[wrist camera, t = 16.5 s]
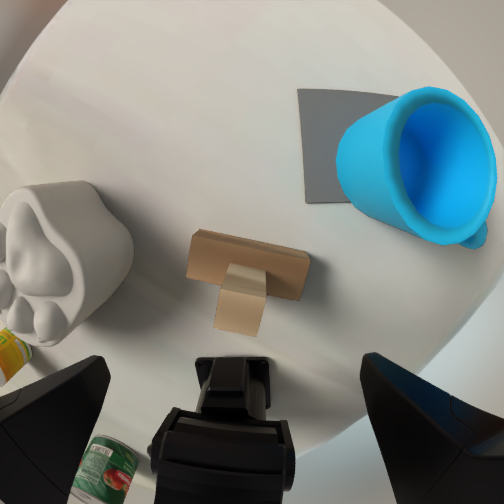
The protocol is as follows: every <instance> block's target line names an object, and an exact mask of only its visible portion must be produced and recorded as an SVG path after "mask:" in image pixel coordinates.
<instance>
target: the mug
mask: <svg viewBox="0 0 504 504" xmlns="http://www.w3.org/2000/svg"><path fill="white" fill-rule="evenodd" d="M336 166H337V176H338V179H339V182H340V184H341V187H342V189H343V192H344V194H345V195H346V196H347V198H348V199H349V200H350V201H351V203H352V204H353V205H354V207H356V208H357V209H359V210H360V211H361V212H363V213H364V214H366V215H367V216H369V217H372V218H374V219H377V220H379V221H382V222H384V223H387V224H389V225H392V226H394V227H396V228H399V229H401V230H404V231H406V232H408V233H411V234H413V235H415V236H417V237H420V238H422V239H424V240H427V241H430V242H434V243H437V244H440V245H449V244H456V243H458V244H460V245H462V246H464V247H466V248H470V249H477V248H479V247H481V246H483V244H484V243H485V240H486V236H487V232H488V231H487V225H486V219H487V216H488V214H489V212H490V209H491V207H492V204H493V202H494V197H495V191H496V184H497V168H496V157H495V153H494V150H493V146H492V143H491V139H490V136H489V134H488V132H487V130H486V128H485V127H484V125H483V123H482V121H481V119H480V118H479V116H478V115H477V114H476V113H475V112H474V110H473V109H472V108H471V107H470V106H469V105H468V104H467V103H466V102H465V101H464V100H463V99H461V98H460V97H458V96H456V95H455V94H453V93H451V92H450V91H448V90H445V89H440V88H435V87H424V88H420V89H416V90H412V91H410V92H408V93H406V94H404V95H402V96H400V97H398V98H397V99H395V100H393V101H391V102H389V103H387V104H385V105H384V106H382V107H380V108H378V109H376V110H375V111H373V112H371V113H369V114H367V115H366V116H364V117H362V118H360V119H359V120H357V121H356V122H355V123H354V124H353V125H351V126H350V127H349V128H348V129H347V130H346V132H345V133H344V135H343V137H342V139H341V141H340V142H339V146H338V151H337V156H336Z"/></svg>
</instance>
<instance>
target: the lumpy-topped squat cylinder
mask: <svg viewBox="0 0 504 504" xmlns="http://www.w3.org/2000/svg"><path fill="white" fill-rule="evenodd" d="M133 259H134V244H133V239H132V237H131V234H130V232H129V231H128V229H127V228H126V227H125V226H124V225H123V224H122V223H121V222H120V221H119V220H118V219H117V218H116V217H114V216H113V215H112V214H111V213H110V212H109V210H108V209H107V208H106V206H105V205H104V203H103V202H102V200H101V198H100V196H99V195H98V193H97V191H96V190H95V189H94V187H93V186H92V185H91V184H89V183H88V182H86V181H69V182H58V183H48V184H39V185H30V186H24V187H21V188H18V189H16V190H14V191H13V192H12V193H11V194H10V195H9V196H8V197H7V198H6V200H5V202H4V204H3V205H2V207H1V210H0V318H1V320H2V321H3V323H4V324H5V325H6V327H7V328H8V329H9V330H10V331H11V332H12V333H13V334H14V335H15V336H17V337H18V338H19V339H21V340H22V341H24V342H26V343H28V344H30V345H33V346H40V347H50V346H54V345H56V344H58V343H59V342H61V341H62V340H63V339H64V338H65V337H66V336H68V335H69V334H70V333H71V332H72V331H73V330H74V329H75V328H76V327H77V326H78V325H79V324H81V323H82V322H83V321H84V320H85V319H86V318H87V317H88V316H89V315H91V314H92V313H93V312H94V311H95V310H96V309H97V308H98V307H100V306H101V305H102V304H103V303H104V302H105V301H106V300H107V299H108V298H109V297H110V296H111V295H112V294H113V293H114V292H115V291H116V289H117V288H118V287H119V285H120V284H121V282H122V281H123V280H124V279H125V277H126V276H127V274H128V273H129V271H130V269H131V266H132V263H133Z"/></svg>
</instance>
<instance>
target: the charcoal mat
mask: <svg viewBox="0 0 504 504" xmlns="http://www.w3.org/2000/svg"><path fill="white" fill-rule="evenodd" d="M297 92H298V101H299V112H300V123H301V135H302V149H303V164H304V181H305V202H306V203H318V202H351V201H350V200H349V199H348V198H347V196H346V195H345V194H344V192H343V189H342V187H341V184H340V182H339V179H338V176H337V166H336V156H337V151H338V146H339V142H340V141H341V139H342V137H343V135H344V133H345V132H346V130H347V129H348V128H349V127H350V126H351V125H353V124H354V123H355V122H356V121H357V120H359V119H360V118H362V117H364V116H366V115H367V114H369V113H371V112H373V111H375V110H376V109H378V108H380V107H382V106H384V105H385V104H387V103H389V102H391V101H393V100H395V99H397V98H398V96H391V95H384V94H376V93H368V92H358V91H345V90H328V89H297Z"/></svg>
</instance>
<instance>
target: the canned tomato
mask: <svg viewBox="0 0 504 504" xmlns="http://www.w3.org/2000/svg"><path fill="white" fill-rule="evenodd" d="M139 461H140V460H139V457H138V455H137V454H136V453H135V452H134V451H133V450H132V449H131V448H129V447H128V446H126V445H125V444H123V443H121V442H120V441H118V440H115V439H113V438H111V437H108V436H104V435H95V436H94V437H93V439H92V441H91V443H90V444H89V446H88V448H87V450H86V452H85V453H84V455H83V457H82V460H81V462H80V465H79V468H78V471H77V474H76V477H75V479H74V482H73V485H72V488H71V491H70V493H71V494H72V495H73V496H75V497H76V498H77V499H79V500H80V501H82V502H84V503H86V504H123V502H124V499H125V498H126V494H127V492H128V490H129V487H130V484H131V482H132V479H133V476H134V474H135V471H136V468H137V466H138V464H139Z"/></svg>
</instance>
